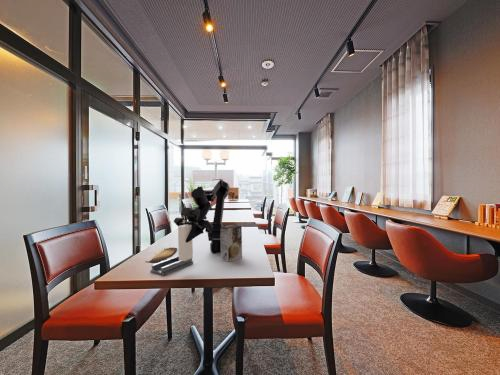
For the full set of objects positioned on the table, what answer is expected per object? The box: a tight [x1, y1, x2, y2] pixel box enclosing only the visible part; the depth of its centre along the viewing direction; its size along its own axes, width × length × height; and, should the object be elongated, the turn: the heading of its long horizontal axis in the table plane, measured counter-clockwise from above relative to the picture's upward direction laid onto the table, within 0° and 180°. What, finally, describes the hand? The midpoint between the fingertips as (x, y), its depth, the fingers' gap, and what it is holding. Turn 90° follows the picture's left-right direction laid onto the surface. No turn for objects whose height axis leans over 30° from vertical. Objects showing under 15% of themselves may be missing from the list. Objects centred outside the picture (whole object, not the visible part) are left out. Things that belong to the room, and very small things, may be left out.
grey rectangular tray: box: [150, 255, 194, 277], centre depth 105 cm, size 16×8×3 cm, turn 149°
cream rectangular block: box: [177, 224, 194, 261], centre depth 99 cm, size 4×4×14 cm
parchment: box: [145, 247, 178, 263], centre depth 124 cm, size 25×10×1 cm, turn 0°
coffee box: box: [220, 224, 243, 263], centre depth 117 cm, size 9×6×16 cm
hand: (182, 241), depth 97 cm, fingers closed on cream rectangular block, 3 cm apart
